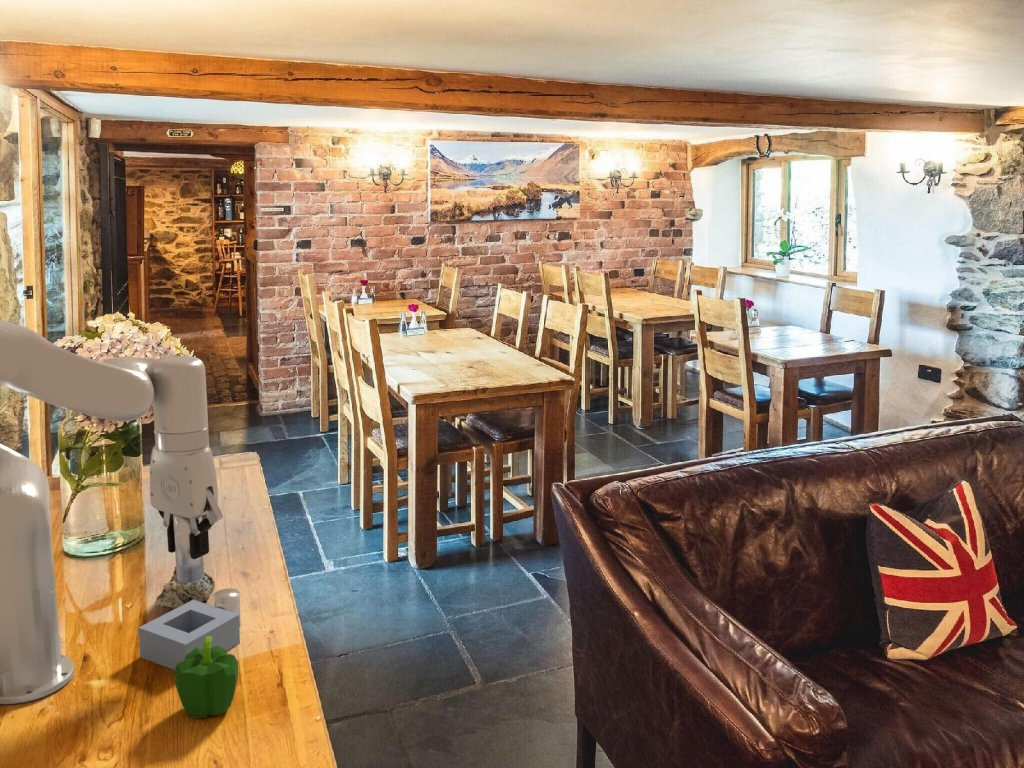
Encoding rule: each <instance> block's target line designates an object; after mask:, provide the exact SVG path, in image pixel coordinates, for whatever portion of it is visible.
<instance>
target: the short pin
mask: <svg viewBox="0 0 1024 768" xmlns="http://www.w3.org/2000/svg"><path fill="white" fill-rule="evenodd" d="M240 594H241V593H240V590H239V589H236V588H231V587H230V588H222V589H219V590H216V591H215V593H214V595H213V597H214V598H213V599H214V600H213V601H214V607H217V608H220V609H223V610H226V611H229V612H232V613H235V614H238V615H239V629H240V628H241V598H240V597H241V595H240Z"/></svg>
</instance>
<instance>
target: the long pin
mask: <svg viewBox="0 0 1024 768" xmlns="http://www.w3.org/2000/svg"><path fill="white" fill-rule="evenodd" d="M198 521H199V523H200V522H201V521H202V518H201V517H199V518H198ZM173 522H174V539H175V552H174V554H175V567H176V572H177V580H178V581H179V582H183V583H191V582H196V581H199V580H201V579H202V578H203V577H204V573H205V566H204V565H205V563H204V555H203V556H201V557H199V558H197V559H192V558H191V555H190V538H189V536H190V534H193V533H192V528H191V523H190V518H186V517H182V516H178V515H174V514H173Z"/></svg>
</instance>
